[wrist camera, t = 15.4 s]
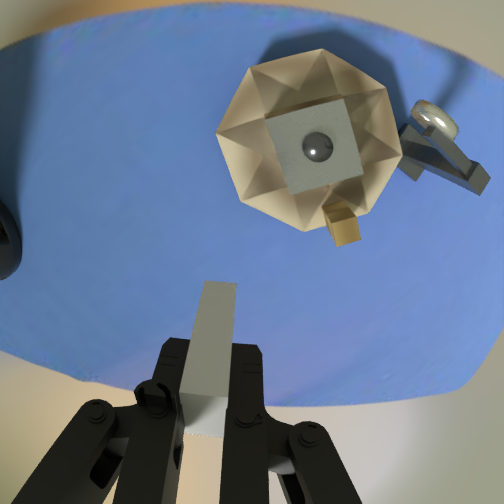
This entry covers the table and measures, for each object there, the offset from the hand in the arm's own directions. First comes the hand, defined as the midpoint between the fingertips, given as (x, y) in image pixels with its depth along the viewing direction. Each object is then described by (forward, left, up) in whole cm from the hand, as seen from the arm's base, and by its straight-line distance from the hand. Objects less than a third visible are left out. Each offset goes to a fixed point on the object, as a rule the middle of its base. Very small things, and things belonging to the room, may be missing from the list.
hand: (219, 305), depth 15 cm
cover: (+3, +9, -18) cm, 20 cm away
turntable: (+3, +9, -20) cm, 22 cm away
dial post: (+11, +15, -22) cm, 29 cm away
